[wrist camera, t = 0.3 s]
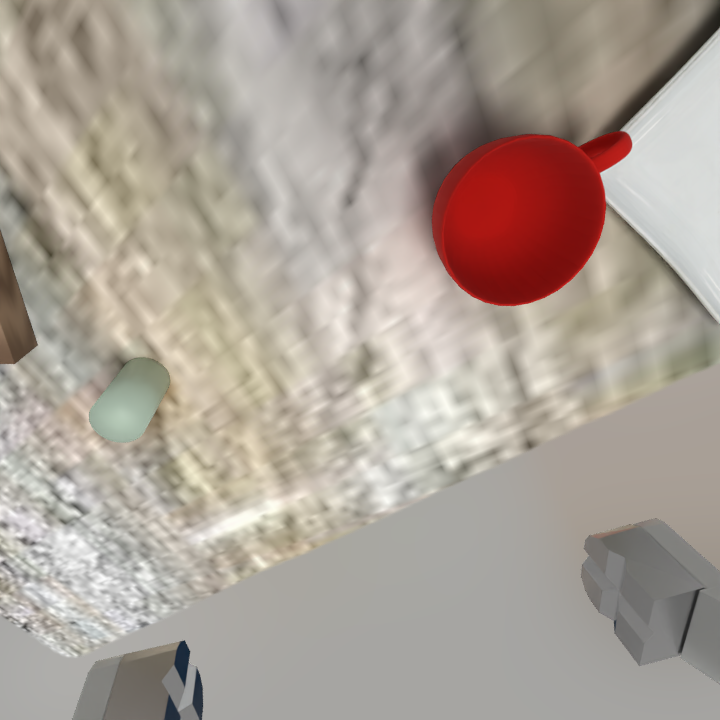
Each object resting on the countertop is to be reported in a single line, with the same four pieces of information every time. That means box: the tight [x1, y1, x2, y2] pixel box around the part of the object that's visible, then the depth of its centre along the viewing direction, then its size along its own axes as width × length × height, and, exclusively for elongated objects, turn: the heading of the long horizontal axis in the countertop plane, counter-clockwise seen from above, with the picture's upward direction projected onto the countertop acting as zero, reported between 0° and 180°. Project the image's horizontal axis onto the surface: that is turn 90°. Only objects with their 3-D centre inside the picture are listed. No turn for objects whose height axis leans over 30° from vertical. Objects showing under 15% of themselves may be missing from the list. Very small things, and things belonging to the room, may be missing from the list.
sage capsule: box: [89, 358, 170, 442], centre depth 46 cm, size 5×5×8 cm
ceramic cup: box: [432, 131, 632, 306], centre depth 39 cm, size 13×17×10 cm
